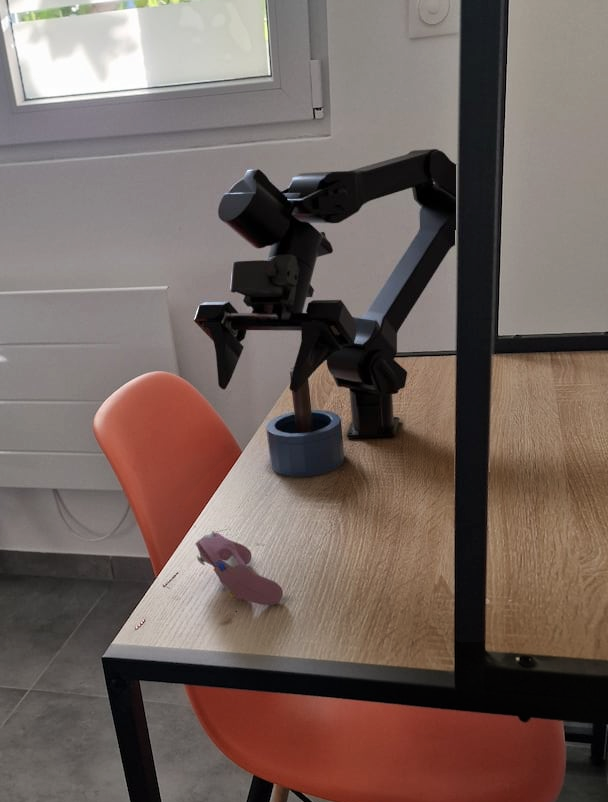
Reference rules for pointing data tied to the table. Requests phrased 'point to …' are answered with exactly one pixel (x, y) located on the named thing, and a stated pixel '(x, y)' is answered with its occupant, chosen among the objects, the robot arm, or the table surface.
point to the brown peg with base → (302, 408)
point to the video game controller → (237, 570)
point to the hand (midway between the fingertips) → (256, 389)
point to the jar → (305, 445)
